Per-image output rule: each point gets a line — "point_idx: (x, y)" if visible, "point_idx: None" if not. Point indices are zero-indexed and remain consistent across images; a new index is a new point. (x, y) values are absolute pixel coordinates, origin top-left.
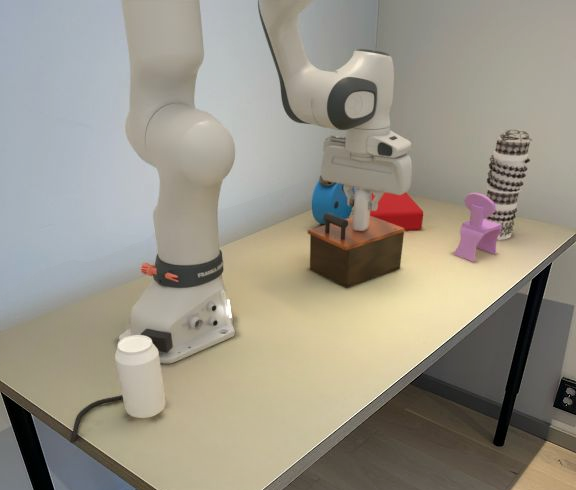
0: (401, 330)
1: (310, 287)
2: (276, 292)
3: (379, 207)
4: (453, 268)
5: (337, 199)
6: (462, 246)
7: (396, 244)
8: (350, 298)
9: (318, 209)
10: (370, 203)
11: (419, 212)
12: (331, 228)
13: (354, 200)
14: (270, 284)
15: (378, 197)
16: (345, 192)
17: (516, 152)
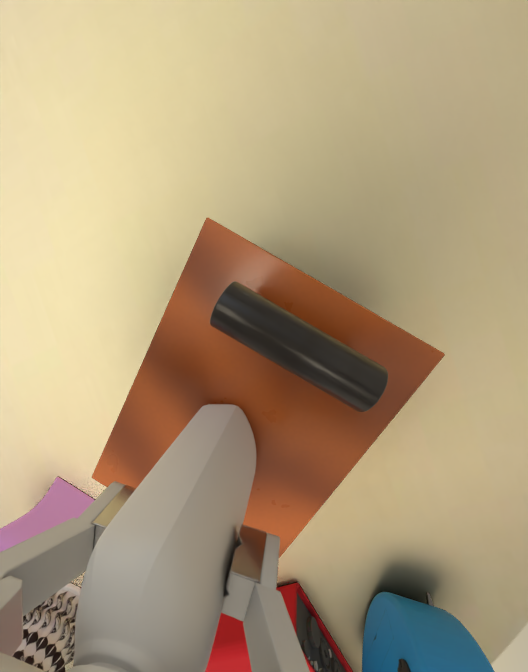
0: (60, 87)
1: (337, 220)
2: (426, 140)
3: None
4: (79, 439)
5: None
6: (68, 517)
7: None
8: (218, 202)
9: (460, 650)
10: (106, 521)
11: None
12: (337, 404)
13: (203, 537)
14: (463, 187)
15: (2, 557)
16: (294, 646)
17: None
